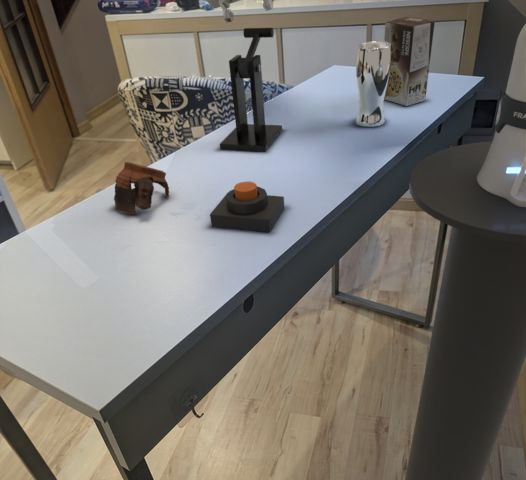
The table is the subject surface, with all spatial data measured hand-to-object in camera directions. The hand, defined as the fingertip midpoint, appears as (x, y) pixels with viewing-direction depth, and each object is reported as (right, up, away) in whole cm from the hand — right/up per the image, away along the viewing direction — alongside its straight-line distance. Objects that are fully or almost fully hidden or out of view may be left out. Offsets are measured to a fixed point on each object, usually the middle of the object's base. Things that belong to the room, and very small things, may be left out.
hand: (247, 14), depth 108 cm
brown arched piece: (-18, -45, -16) cm, 51 cm away
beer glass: (+27, -20, +6) cm, 34 cm away
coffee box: (+36, -11, +15) cm, 41 cm away
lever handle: (+1, -11, -3) cm, 11 cm away
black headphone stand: (+1, -25, +3) cm, 25 cm away
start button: (+1, -45, -25) cm, 52 cm away
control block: (+1, -48, -23) cm, 53 cm away
